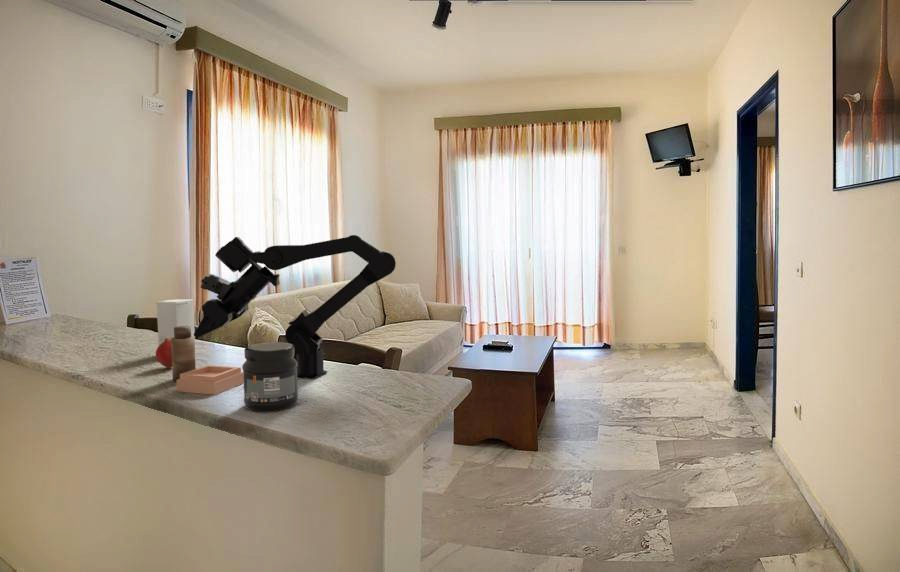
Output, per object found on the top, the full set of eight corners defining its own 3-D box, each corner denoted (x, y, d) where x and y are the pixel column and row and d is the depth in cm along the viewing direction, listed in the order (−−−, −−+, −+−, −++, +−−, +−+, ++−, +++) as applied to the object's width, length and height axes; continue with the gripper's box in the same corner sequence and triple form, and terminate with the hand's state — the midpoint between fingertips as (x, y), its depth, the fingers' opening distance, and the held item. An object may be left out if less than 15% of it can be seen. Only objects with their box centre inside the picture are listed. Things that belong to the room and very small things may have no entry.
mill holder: (244, 382, 130) (244, 367, 129) (215, 394, 120) (214, 377, 120) (208, 379, 132) (207, 364, 132) (177, 391, 123) (176, 374, 123)
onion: (156, 366, 145) (154, 336, 145) (181, 364, 148) (179, 334, 147) (156, 371, 140) (154, 340, 140) (181, 369, 143) (180, 338, 142)
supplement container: (275, 394, 120) (273, 339, 119) (309, 402, 114) (308, 345, 113) (232, 407, 111) (230, 348, 110) (267, 417, 105) (265, 354, 104)
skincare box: (177, 357, 157) (175, 302, 155) (157, 356, 158) (154, 301, 157) (196, 351, 165) (194, 298, 164) (177, 350, 166) (174, 298, 165)
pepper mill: (200, 377, 135) (198, 326, 134) (185, 382, 130) (183, 329, 129) (183, 375, 136) (181, 325, 135) (168, 380, 131) (165, 328, 130)
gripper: (233, 260, 141) (190, 304, 141) (209, 264, 122) (159, 315, 122) (266, 291, 142) (223, 334, 142) (247, 300, 124) (198, 349, 124)
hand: (201, 332), depth 133 cm, fingers open, 9 cm apart
